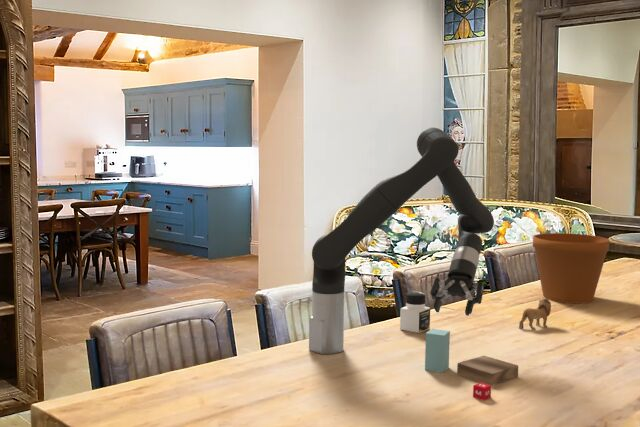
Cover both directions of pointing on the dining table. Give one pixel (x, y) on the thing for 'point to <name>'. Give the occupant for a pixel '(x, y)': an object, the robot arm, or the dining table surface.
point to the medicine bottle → (415, 313)
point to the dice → (482, 391)
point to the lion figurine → (537, 313)
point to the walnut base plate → (487, 370)
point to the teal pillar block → (437, 350)
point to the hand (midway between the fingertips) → (451, 312)
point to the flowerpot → (570, 265)
